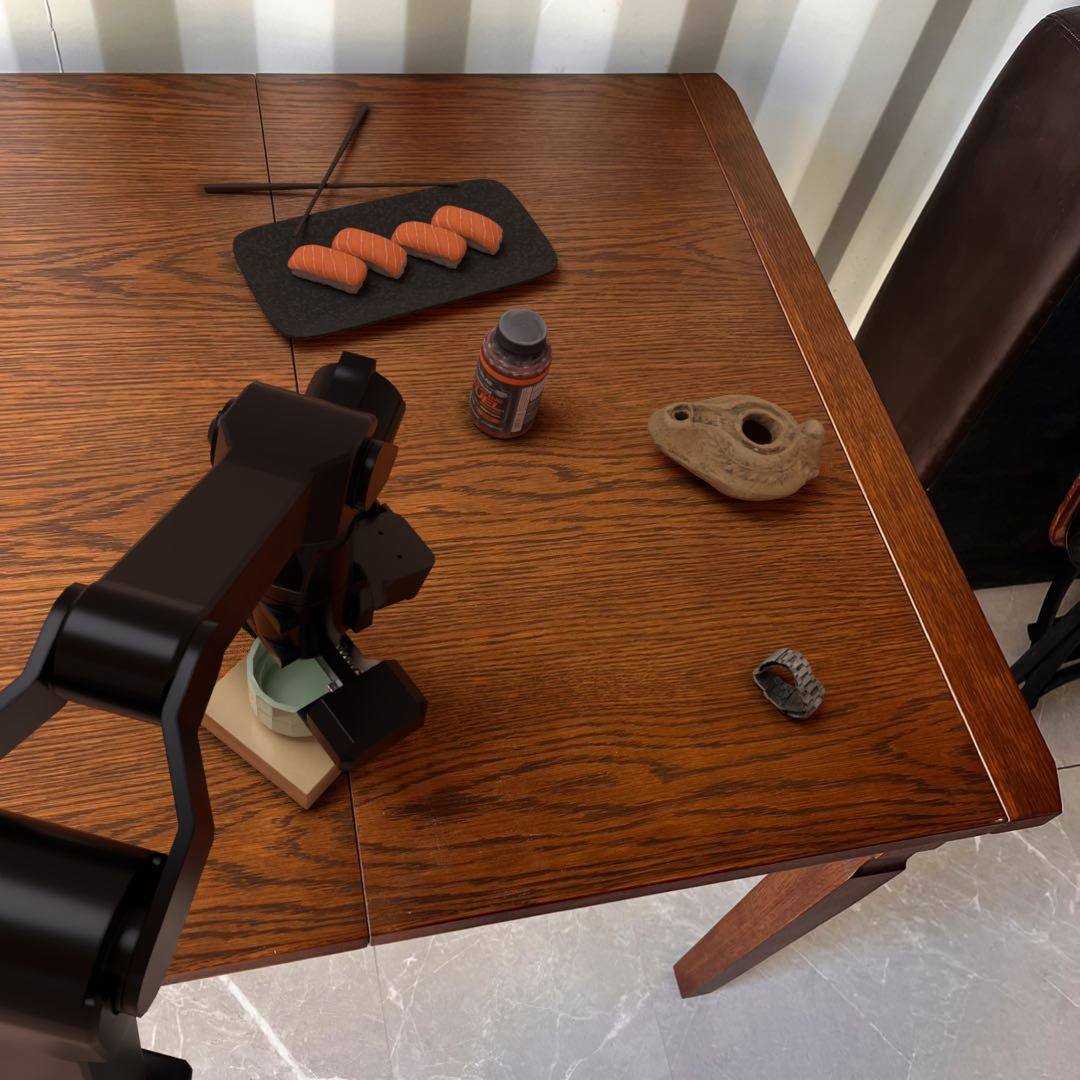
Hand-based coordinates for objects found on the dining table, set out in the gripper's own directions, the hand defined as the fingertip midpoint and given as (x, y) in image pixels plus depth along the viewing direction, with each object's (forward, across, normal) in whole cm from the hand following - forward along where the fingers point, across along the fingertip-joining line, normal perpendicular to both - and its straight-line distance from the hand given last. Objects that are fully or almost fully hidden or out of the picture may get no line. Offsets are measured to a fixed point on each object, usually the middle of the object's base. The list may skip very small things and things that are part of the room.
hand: (301, 683), depth 73 cm
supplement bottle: (+5, +14, -29) cm, 33 cm away
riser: (+5, 0, 0) cm, 5 cm away
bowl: (+2, 0, 0) cm, 2 cm away
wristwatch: (+5, -20, -31) cm, 37 cm away
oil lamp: (+5, -1, -43) cm, 43 cm away
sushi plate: (+5, +41, -34) cm, 53 cm away
